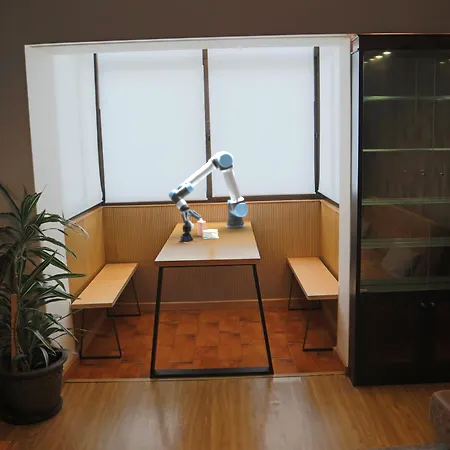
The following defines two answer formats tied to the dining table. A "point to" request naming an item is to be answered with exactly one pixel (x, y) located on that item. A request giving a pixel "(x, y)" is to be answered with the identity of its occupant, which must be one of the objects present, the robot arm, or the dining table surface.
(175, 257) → the dining table surface
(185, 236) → the figurine
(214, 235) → the base brick
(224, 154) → the robot arm
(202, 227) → the tall brick
